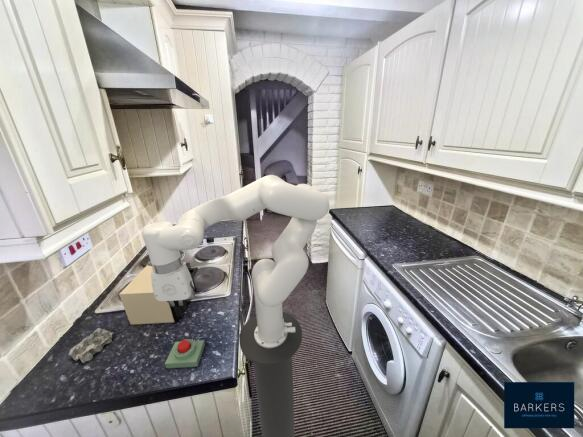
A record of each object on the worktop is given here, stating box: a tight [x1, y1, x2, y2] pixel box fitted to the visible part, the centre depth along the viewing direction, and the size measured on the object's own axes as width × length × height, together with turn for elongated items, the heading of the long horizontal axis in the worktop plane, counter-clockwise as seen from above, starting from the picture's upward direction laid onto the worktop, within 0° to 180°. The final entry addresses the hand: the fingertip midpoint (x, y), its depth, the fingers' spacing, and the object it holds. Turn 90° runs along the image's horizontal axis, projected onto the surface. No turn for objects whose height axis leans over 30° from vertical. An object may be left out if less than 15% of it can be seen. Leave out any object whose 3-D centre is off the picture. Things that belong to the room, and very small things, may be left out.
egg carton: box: [68, 327, 114, 364], centre depth 80 cm, size 11×8×4 cm
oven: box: [118, 262, 187, 325], centre depth 97 cm, size 17×20×15 cm
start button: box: [178, 339, 190, 353], centre depth 75 cm, size 4×4×2 cm
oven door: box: [169, 262, 199, 323], centre depth 97 cm, size 6×20×15 cm, turn 3°
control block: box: [164, 338, 206, 369], centre depth 76 cm, size 10×8×4 cm
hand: (181, 312), depth 72 cm, fingers closed
